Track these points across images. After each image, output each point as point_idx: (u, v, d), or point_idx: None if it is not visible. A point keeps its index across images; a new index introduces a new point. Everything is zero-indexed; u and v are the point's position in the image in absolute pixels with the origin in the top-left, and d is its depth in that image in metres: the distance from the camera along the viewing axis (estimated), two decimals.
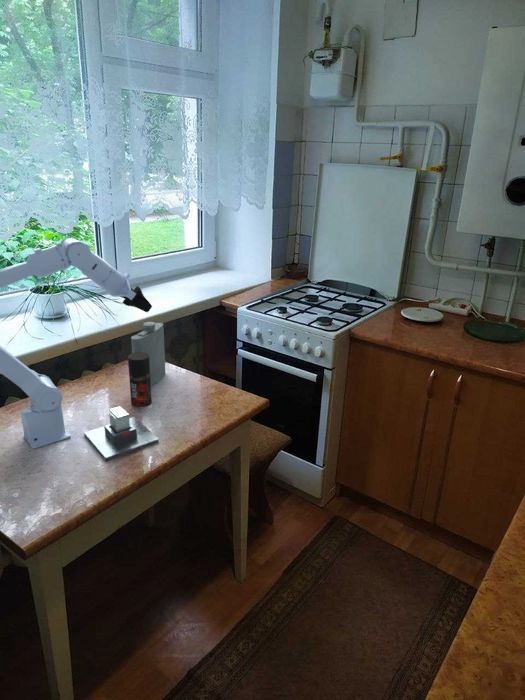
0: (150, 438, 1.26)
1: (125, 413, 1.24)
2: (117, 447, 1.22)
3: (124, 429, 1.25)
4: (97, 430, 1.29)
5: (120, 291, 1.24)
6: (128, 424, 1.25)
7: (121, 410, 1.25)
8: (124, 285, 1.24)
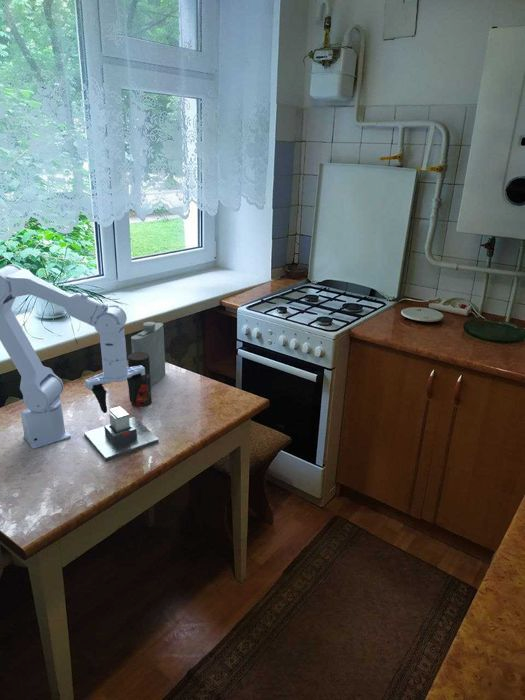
0: (150, 438, 1.26)
1: (125, 413, 1.24)
2: (117, 447, 1.22)
3: (124, 429, 1.25)
4: (97, 430, 1.29)
5: (102, 376, 1.20)
6: (128, 424, 1.25)
7: (121, 410, 1.25)
8: (106, 378, 1.18)
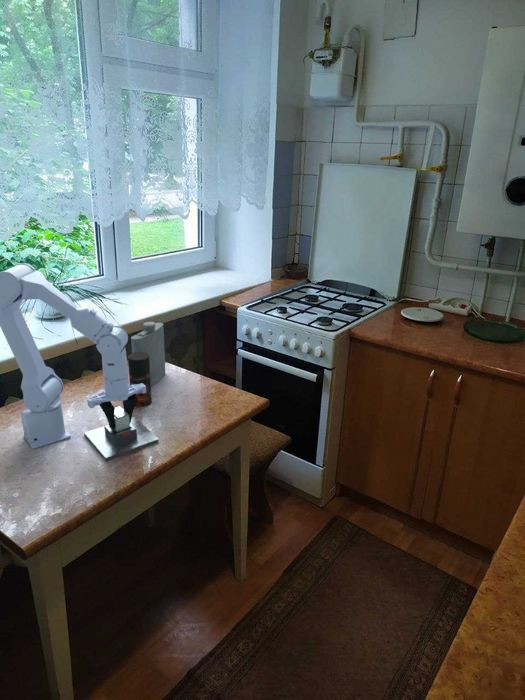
0: (150, 438, 1.26)
1: (125, 413, 1.24)
2: (117, 447, 1.22)
3: (124, 429, 1.25)
4: (97, 430, 1.29)
5: (104, 394, 1.21)
6: (128, 424, 1.25)
7: (121, 410, 1.25)
8: (107, 397, 1.20)
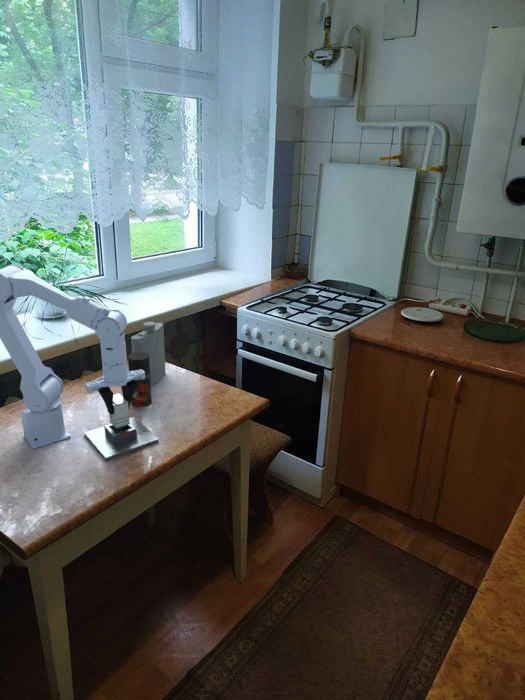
0: (150, 438, 1.26)
1: (124, 400, 1.23)
2: (117, 447, 1.22)
3: (123, 416, 1.24)
4: (97, 430, 1.29)
5: (102, 380, 1.20)
6: (127, 411, 1.24)
7: (120, 397, 1.24)
8: (106, 382, 1.19)
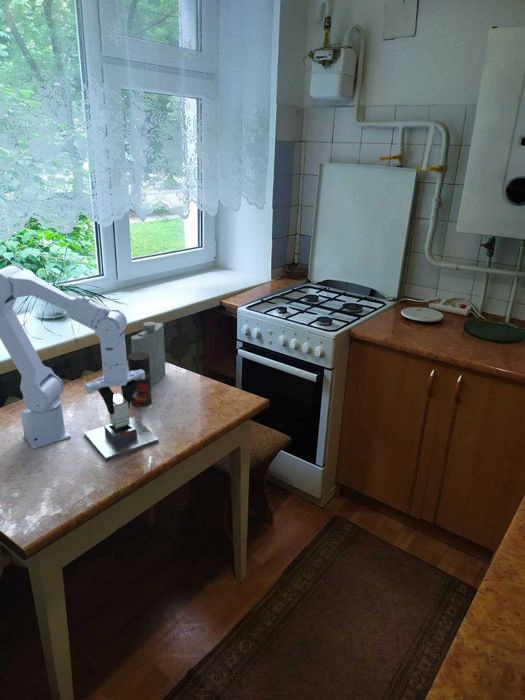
0: (150, 438, 1.26)
1: (124, 400, 1.23)
2: (117, 447, 1.22)
3: (123, 416, 1.24)
4: (97, 430, 1.29)
5: (102, 380, 1.20)
6: (127, 411, 1.24)
7: (120, 397, 1.24)
8: (106, 382, 1.19)
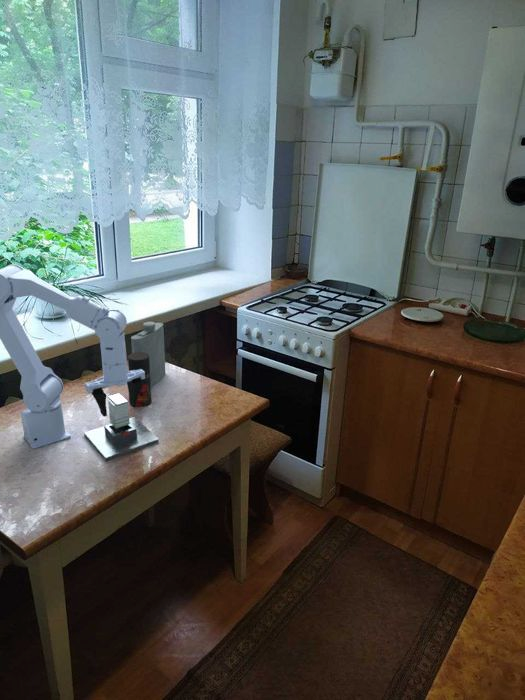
0: (150, 438, 1.26)
1: (124, 400, 1.23)
2: (117, 447, 1.22)
3: (123, 416, 1.24)
4: (97, 430, 1.29)
5: (102, 380, 1.20)
6: (127, 411, 1.24)
7: (120, 397, 1.24)
8: (106, 382, 1.19)
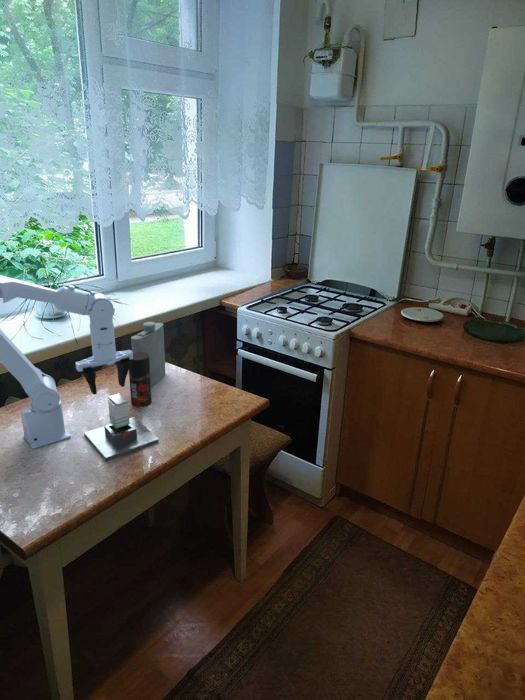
0: (150, 438, 1.26)
1: (124, 400, 1.23)
2: (117, 447, 1.22)
3: (123, 416, 1.24)
4: (97, 430, 1.29)
5: (92, 359, 1.26)
6: (127, 411, 1.24)
7: (120, 397, 1.24)
8: (95, 361, 1.25)
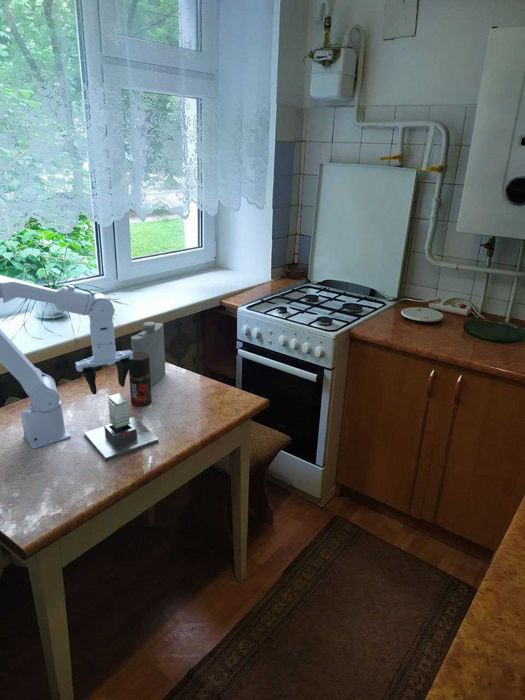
0: (150, 438, 1.26)
1: (124, 400, 1.23)
2: (117, 447, 1.22)
3: (123, 416, 1.24)
4: (97, 430, 1.29)
5: (92, 359, 1.26)
6: (127, 411, 1.24)
7: (120, 397, 1.24)
8: (95, 361, 1.25)
